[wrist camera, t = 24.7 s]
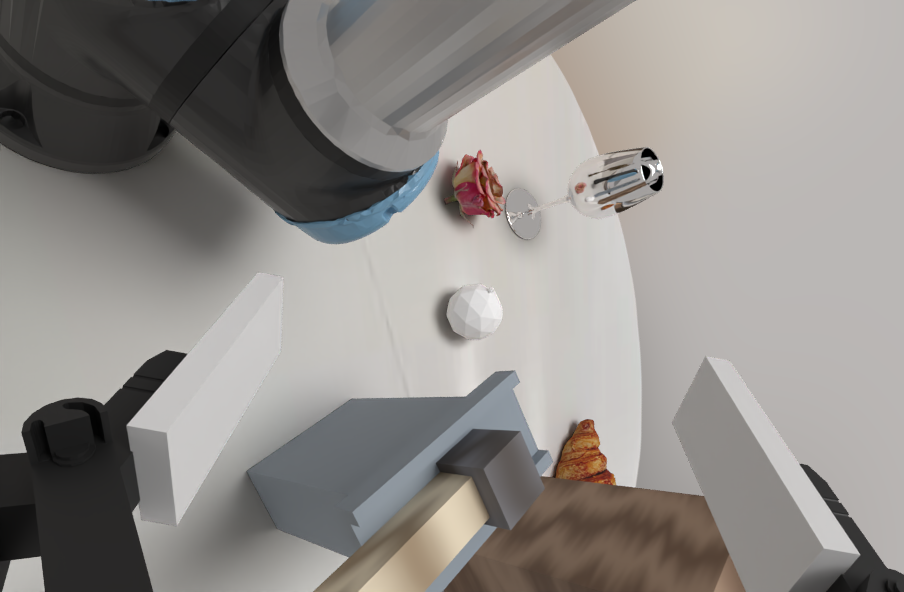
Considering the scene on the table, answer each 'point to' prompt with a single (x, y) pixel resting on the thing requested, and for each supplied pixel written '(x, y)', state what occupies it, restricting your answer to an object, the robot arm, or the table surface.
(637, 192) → the wineglass
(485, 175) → the flower
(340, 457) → the rail stand
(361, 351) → the table surface
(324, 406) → the table surface
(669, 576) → the walnut stand
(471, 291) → the ornament
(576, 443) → the croissant
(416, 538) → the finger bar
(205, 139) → the robot arm
